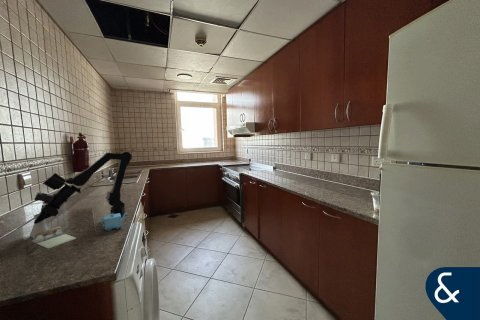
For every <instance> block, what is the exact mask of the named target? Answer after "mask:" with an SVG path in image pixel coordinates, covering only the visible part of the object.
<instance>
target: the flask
mask: <svg viewBox="0 0 480 320" xmlns="http://www.w3.org/2000/svg"><path fill="white" fill-rule="evenodd" d="M39 215H40V214H39V213H37V214H33V217H34V220H36V219H37V217H38V216H39ZM49 229H50V228H49V226H48V225H47V224H46V222H45V220H43V221H41V222H39V223H37V224H35V223H34V222H33V226H32V228H31V231H30V234H29V238H32V239H33V237H34V234H36V233H39V232H42V231H46V230H49ZM42 236H43V237H44V236H48V234H44V235H42Z"/></svg>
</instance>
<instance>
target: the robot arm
mask: <svg viewBox="0 0 480 320" xmlns="http://www.w3.org/2000/svg"><path fill="white" fill-rule="evenodd" d="M132 158H133V157H132V153H131V152H129V151H121V152H118V153H117V152H116V153H115V152H106V153H104V155H102V156H101V157H100V158H98V159H97V160H96V161H95V162H94V163H92V164H91V165H90V166H88V167H87V168H86V169H84V170H82V171H81V172H79V173H77V174H74V176H72V177H68V178H64V177H62V176H60V175H59V174H58V173H56V172H54V173H53V174H52V175H50V176H48V178H46V179H45V180H44V181H43V182H42V184H43V185H45V186H46V187H48V188H50V189H52V190H53V191H54V190H57V192H55V193H53V194H49V193H44V192H40V191H38V192H37V193H36V195H35V197H34V198H33V199H34V201H37V202H38V201H40V202H42V205H41V208H40V212H39V213H38V214H40V215H39V216H38V217H37V219H36V220H35V219H34V222H33V224H34V223H35V224H37V223H39V222H41V221H43V220H44V221H45V220H47V219H49V218H51V217H56V216H57V215H59V210H60V209H61V207H62V206H63V205H64V204H65V203H67V202H68V200H69V199H70V198H71V197H72V196H73V195H74V194H75V193H79V194H81V189H82V186H84V185H85V184H86V183H88V182H89V180H90V179H91V177H92V176H93V175H94V174H95V173H96V172H97V171H98V170H100V169H101V168H102V167H103V166H104V165H107V163H109V162H110V160H111V161H112V160H117V162H118V163H117V165H118V166H117V170H116V173H115V177H114V182H113V184H112V188H111V190H110V191H107V194H106V197H105V199H106V202H107V203H108V205H110V206H111V207H110V211H109V212H110V214H118V213H120V215H121V218H122V217H123V215H124V214H125V213H126V210H125V209H126V208H125V206H126V204H125V202H123V201H122V200H121V196H122V195H121V189H122V184H123V181H124V177H125V173H126V170H127V168H128V166H129V164H130V162H131V161H132ZM127 214H128V213H127ZM127 214H126V215H125V216H127Z"/></svg>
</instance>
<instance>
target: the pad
mask: <svg viewBox="0 0 480 320" xmlns="http://www.w3.org/2000/svg"><path fill="white" fill-rule="evenodd" d="M76 239H77V237H74V236H72V235H69V234H66V233H64V234H63V235H60V236H57V237H54V238H51V239H48V240H45V241H41V242H38V243H36V244H37V245H39V246H41V247H43V248H45V249H48V250H49V249H51V248H54V247H57V246H60V245H63V244H66V243H68V242H70V241H74V240H76Z"/></svg>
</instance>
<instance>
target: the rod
mask: <svg viewBox="0 0 480 320" xmlns="http://www.w3.org/2000/svg"><path fill="white" fill-rule="evenodd" d="M57 229H62V228H61V226H60V225H59V226H56V227H53V228H49V230H46V231H42V232H39V233H36V234H34V237H36V236H38V235H41V234H42V235H43V236H45V235H44V234H47V235H49V234H50V233H53V232H54V231H56V230H57Z"/></svg>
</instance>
